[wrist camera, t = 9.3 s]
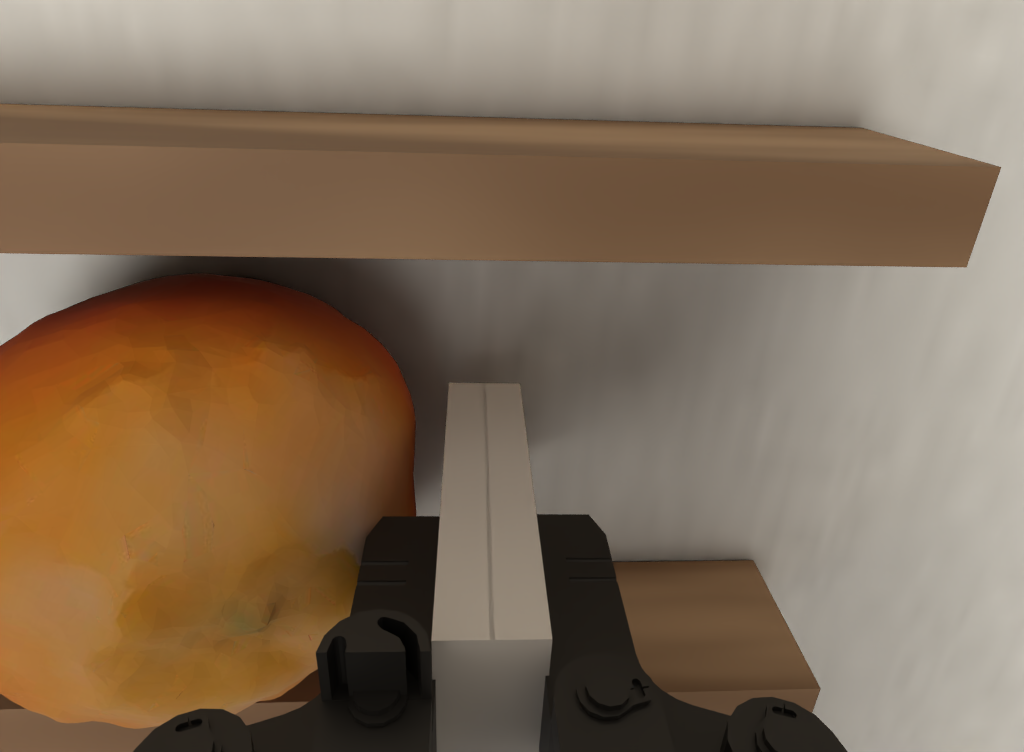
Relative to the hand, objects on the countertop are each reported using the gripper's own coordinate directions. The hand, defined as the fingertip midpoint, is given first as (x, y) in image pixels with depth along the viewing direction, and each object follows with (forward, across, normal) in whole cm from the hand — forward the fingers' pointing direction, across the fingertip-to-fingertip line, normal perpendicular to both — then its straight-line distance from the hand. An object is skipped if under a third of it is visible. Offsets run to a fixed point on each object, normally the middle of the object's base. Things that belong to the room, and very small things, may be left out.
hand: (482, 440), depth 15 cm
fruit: (+2, +5, 0) cm, 5 cm away
